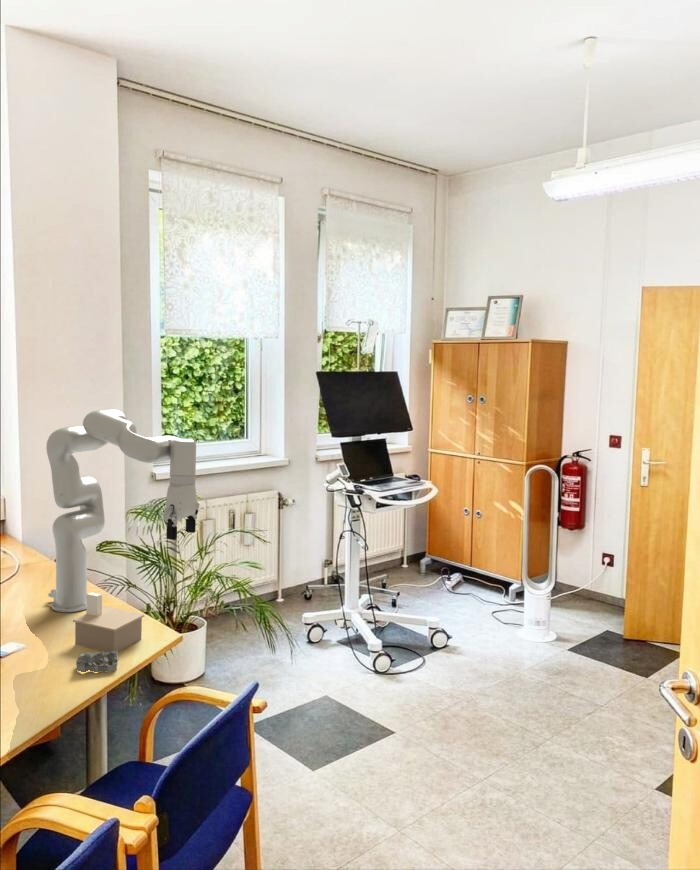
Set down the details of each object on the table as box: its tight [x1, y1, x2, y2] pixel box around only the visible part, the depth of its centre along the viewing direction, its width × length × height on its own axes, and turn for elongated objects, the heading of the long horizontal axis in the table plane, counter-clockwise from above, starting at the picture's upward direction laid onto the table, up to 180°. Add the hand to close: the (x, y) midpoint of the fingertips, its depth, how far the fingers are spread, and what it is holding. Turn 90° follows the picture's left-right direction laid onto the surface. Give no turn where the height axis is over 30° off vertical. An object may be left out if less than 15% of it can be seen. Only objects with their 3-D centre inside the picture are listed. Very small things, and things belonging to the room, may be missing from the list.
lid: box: [72, 591, 145, 632], centre depth 207 cm, size 15×13×7 cm
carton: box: [74, 617, 143, 653], centre depth 208 cm, size 14×12×7 cm
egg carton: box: [75, 650, 119, 673], centre depth 191 cm, size 11×8×4 cm
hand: (181, 535), depth 215 cm, fingers open, 9 cm apart
